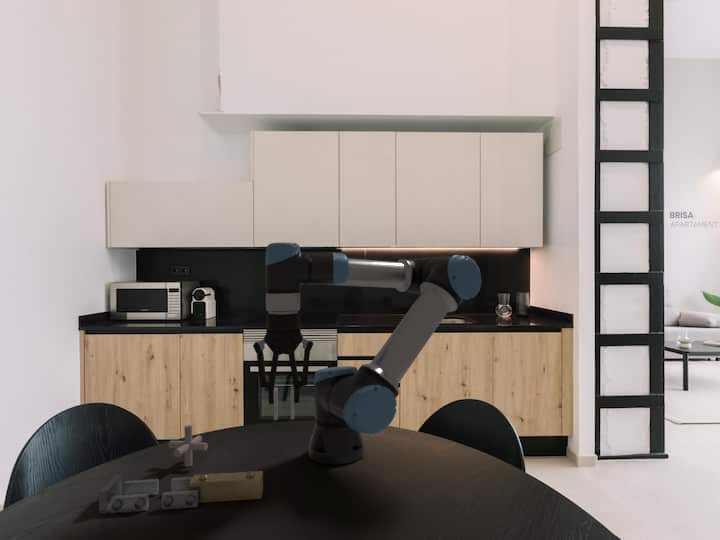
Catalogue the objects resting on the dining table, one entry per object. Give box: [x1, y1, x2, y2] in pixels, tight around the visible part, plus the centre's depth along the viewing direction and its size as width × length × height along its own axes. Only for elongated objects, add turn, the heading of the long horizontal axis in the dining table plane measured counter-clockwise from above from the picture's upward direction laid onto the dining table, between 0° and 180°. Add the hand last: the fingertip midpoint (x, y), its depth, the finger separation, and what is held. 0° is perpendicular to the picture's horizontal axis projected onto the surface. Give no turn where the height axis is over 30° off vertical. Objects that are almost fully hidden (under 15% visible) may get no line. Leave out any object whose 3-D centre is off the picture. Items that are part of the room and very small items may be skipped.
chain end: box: [161, 476, 199, 511], centre depth 99 cm, size 7×9×3 cm
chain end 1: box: [98, 474, 160, 515], centre depth 97 cm, size 9×9×4 cm
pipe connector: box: [168, 424, 209, 468], centre depth 116 cm, size 10×10×10 cm
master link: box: [189, 470, 264, 503], centre depth 100 cm, size 15×4×5 cm, turn 96°
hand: (284, 417), depth 102 cm, fingers open, 3 cm apart
